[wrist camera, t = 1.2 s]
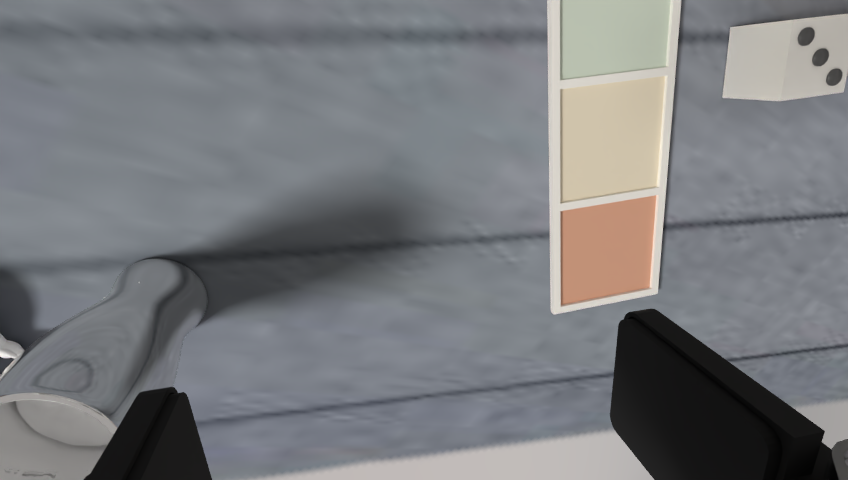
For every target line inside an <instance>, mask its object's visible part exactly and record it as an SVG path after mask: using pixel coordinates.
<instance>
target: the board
mask: <svg viewBox="0 0 848 480" xmlns="http://www.w3.org/2000/svg"><path fill="white" fill-rule="evenodd" d="M680 10H681V0H547V18H548V108H549V199H550V289H551V312H552V313H553V314H559V313H564V312H569V311H574V310H579V309H584V308H589V307H594V306H599V305H604V304H609V303H614V302H619V301H624V300H629V299H634V298H639V297H644V296H649V295H654V294H658V283H659V271H660V258H661V246H662V234H663V221H664V209H665V196H666V184H667V172H668V159H669V147H670V134H671V122H672V110H673V97H674V85H675V72H676V60H677V47H678V35H679V23H680Z"/></svg>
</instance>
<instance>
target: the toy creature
mask: <svg viewBox="0 0 848 480" xmlns="http://www.w3.org/2000/svg"><path fill="white" fill-rule="evenodd" d="M23 351H24V349H22V347H21V345H20V344H18V343H16V342H14V341H9V340H6V339H5V338H4V337H3V335H2V334H1V333H0V357H2V358H17V357H18V356H19V355H20V354H21V353H22V352H23Z"/></svg>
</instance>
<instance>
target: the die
mask: <svg viewBox="0 0 848 480" xmlns="http://www.w3.org/2000/svg"><path fill="white" fill-rule="evenodd" d="M847 73H848V14H839V15H831V16H822V17H813V18H804V19H795V20H787V21H778V22H770V23H761V24H753V25H744V26H736V27H730V36H729V44H728V53H727V61H726V70H725V79H724V87H723V96H722V98H735V99H752V100H769V101H785V100H792V99H799V98H806V97H814V96H821V95H828V94H835V93H842V92H844V87H845V82H846V77H847Z"/></svg>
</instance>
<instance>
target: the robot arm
mask: <svg viewBox="0 0 848 480" xmlns="http://www.w3.org/2000/svg"><path fill="white" fill-rule="evenodd" d="M610 418H611V422H612V425H613V427H614V429H615V431H616V432H617V434H618V435H619V436H620V437H621V439H622V440H623V441H624V442H625V443H626V445H627V446H628V447H629V448H630V450H631V451H632V452H633V453H634V455H635V456H636V457H637V459H638V460H639V461H640V462H641V463H642V465H643V466H644V467H645V468H646V470H647V471H648V472H649V473H650V475H651V476H652V477H653V478H654V480H848V439H846V440H843V441H840V442H837V443H836V444H835V445H834V447H833V448H832V450H831V449H830V448H829V447H827V446H826V445H825V444H823V443H822V439H823V435H824V432H825V431H824V430H822V429H821V428H820V427H818V426H817V425H816V424H814V423H813V422H811V421H810V420H808V419H807V418H806V417H804V416H803V415H802V414H800V413H799V412H797V411H796V410H795V409H793V408H792V407H791V406H789V405H788V404H786V403H785V402H784V401H782V400H781V399H779V398H778V397H777V396H775V395H774V394H772V393H771V392H770V391H768V390H767V389H766V388H764V387H763V386H761V385H760V384H759V383H757V382H756V381H754V380H753V379H752V378H750V377H749V376H747V375H746V374H745V373H743V372H742V371H741V370H739V369H738V368H736V367H735V366H734V365H732V364H731V363H729V362H728V361H727V360H725V359H724V358H722V357H721V356H720V355H718V354H717V353H716V352H714V351H713V350H711V349H710V348H709V347H707V346H706V345H704V344H703V343H702V342H700V341H699V340H697V339H696V338H695V337H693V336H692V335H691V334H689V333H688V332H686V331H685V330H684V329H682V328H681V327H679V326H678V325H677V324H675V323H674V322H672V321H671V320H670V319H668V318H667V317H666V316H664V315H663V314H661V313H660V312H659V311H657V310H655V309H646V310H640V311H634V312H629V313H627V314H626V315H625V317H624V320H621V321H620V323H619V326H618V336H617V347H616V358H615V368H614V379H613V389H612V400H611V410H610ZM84 480H212V478H211V475H210V471H209V468H208V464H207V461H206V458H205V454H204V451H203V447H202V444H201V441H200V437H199V434H198V430H197V427H196V423H195V420H194V417H193V413H192V410H191V406H190V403H189V400H188V397H187V395H186V393H184V392H182V393H178V392H177V390H176V389H175V388H174V387H167V388H161V389H154V390H148V391H142V392H140V393H139V394H138V395H137V396H136V398H135V400H134V401H133V403H132V405H131V406H130V408H129V410H128V411H127V413H126V415H125V416H124V418H123V420H122V422H121V423H120V425H119V427H118V428H117V430H116V432H115V433H114V435H113V437H112V438H111V440H110V442H109V443H108V445H107V447H106V448H105V450H104V452H103V453H102V455H101V457H100V458H99V460H98V462H97V463H96V465H95V467H94V468H93V470H92V472H91V473H90V474H89V475H87V476H86V477H85V478H84Z"/></svg>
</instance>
